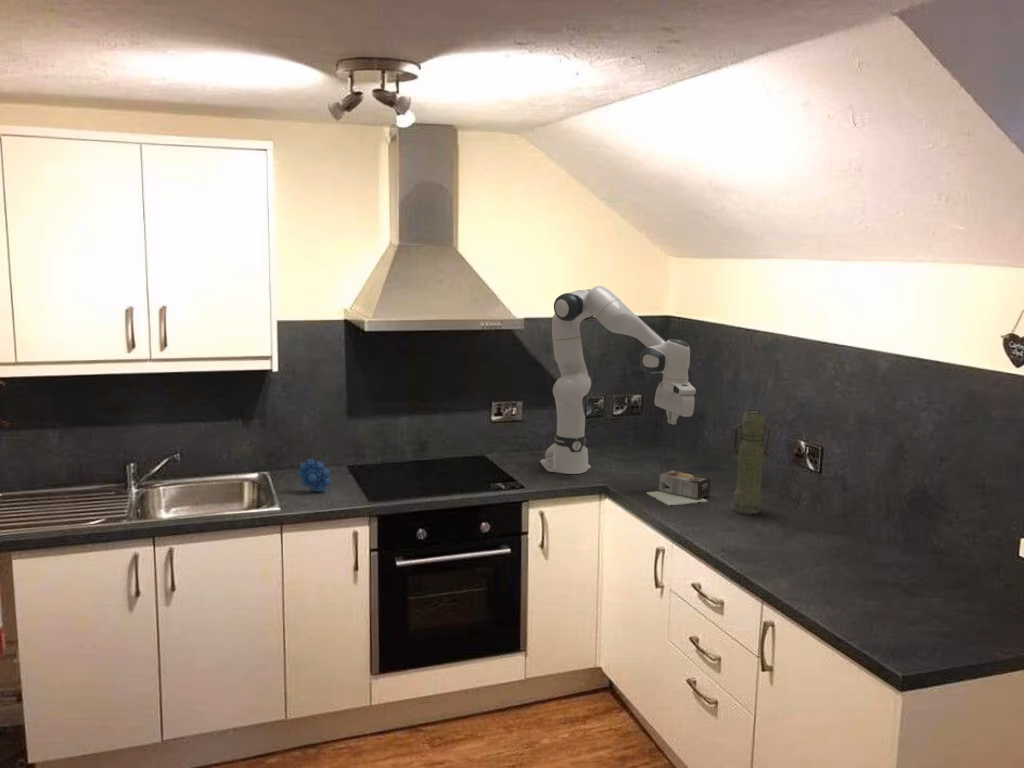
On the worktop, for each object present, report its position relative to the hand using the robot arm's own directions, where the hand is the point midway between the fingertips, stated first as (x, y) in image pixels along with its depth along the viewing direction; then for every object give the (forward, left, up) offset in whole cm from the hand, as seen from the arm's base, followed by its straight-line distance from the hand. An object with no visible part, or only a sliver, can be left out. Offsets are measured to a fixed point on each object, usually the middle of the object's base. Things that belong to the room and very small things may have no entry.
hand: (671, 423), depth 307 cm
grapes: (-41, -119, -27) cm, 129 cm away
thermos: (+23, +18, -27) cm, 39 cm away
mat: (+2, +3, -27) cm, 27 cm away
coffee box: (-8, +4, -23) cm, 25 cm away
